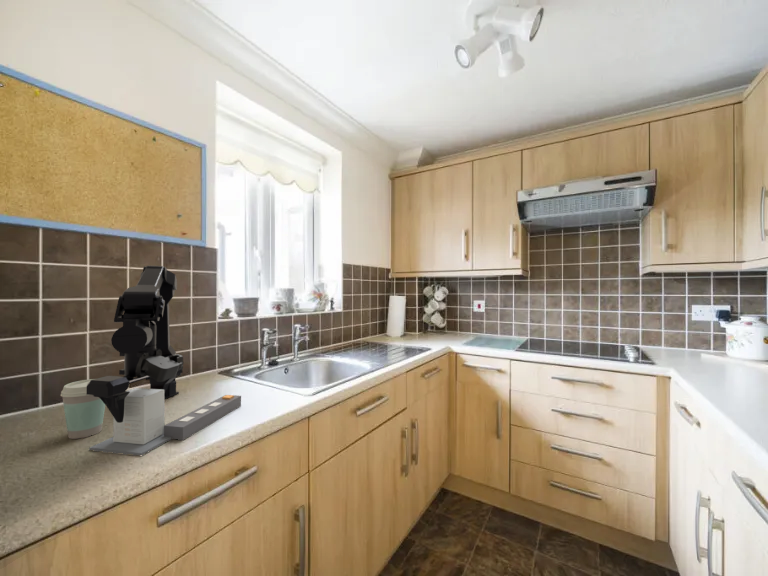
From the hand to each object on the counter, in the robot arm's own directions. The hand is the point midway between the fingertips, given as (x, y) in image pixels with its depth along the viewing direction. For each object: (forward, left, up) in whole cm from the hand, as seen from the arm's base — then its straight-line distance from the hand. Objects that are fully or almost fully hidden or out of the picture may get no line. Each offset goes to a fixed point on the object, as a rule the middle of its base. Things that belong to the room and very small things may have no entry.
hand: (139, 414), depth 72 cm
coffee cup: (-16, +1, -6) cm, 17 cm away
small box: (0, 0, -6) cm, 6 cm away
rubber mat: (0, 0, -6) cm, 6 cm away
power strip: (+7, +13, -6) cm, 16 cm away
